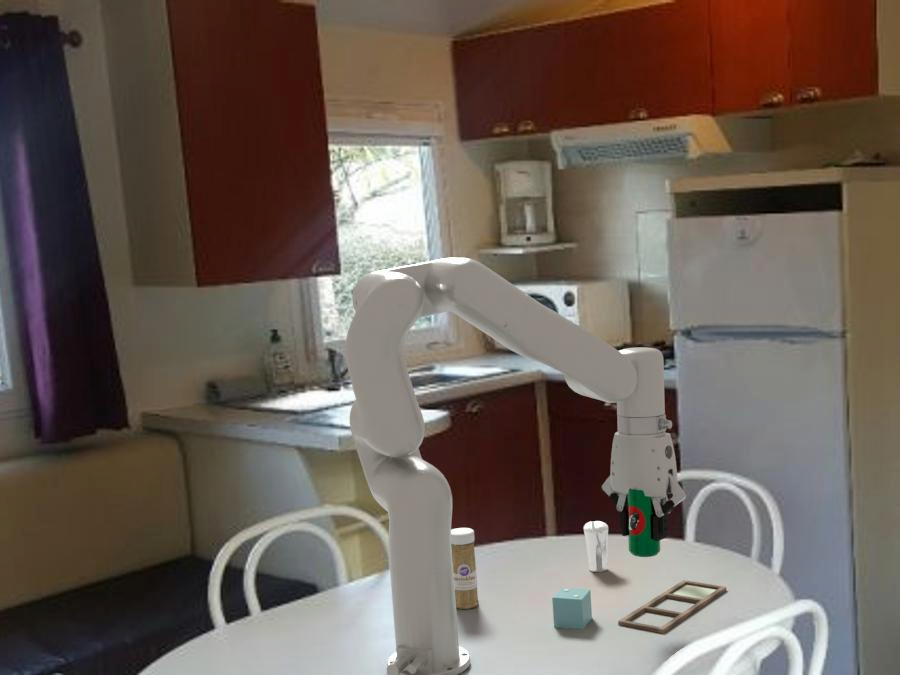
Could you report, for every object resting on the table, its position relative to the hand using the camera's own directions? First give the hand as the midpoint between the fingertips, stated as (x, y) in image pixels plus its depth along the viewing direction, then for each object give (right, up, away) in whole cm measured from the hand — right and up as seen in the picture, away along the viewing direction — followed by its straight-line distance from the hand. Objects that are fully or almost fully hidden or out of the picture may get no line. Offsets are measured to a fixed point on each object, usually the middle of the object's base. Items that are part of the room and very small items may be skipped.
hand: (644, 535), depth 180 cm
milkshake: (-4, -12, +29) cm, 32 cm away
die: (-11, -15, +4) cm, 19 cm away
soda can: (0, -3, 0) cm, 3 cm away
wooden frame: (+6, -13, +7) cm, 16 cm away
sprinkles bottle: (-28, -15, +15) cm, 36 cm away
